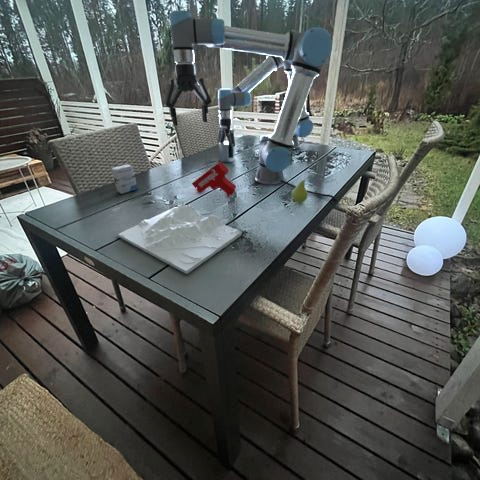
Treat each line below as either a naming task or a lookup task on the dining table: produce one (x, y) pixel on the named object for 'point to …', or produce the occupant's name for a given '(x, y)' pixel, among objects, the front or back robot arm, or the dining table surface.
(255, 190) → the dining table surface
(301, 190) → the fruit
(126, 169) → the ink box
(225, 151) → the can
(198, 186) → the toy gun
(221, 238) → the relief map
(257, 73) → the back robot arm
